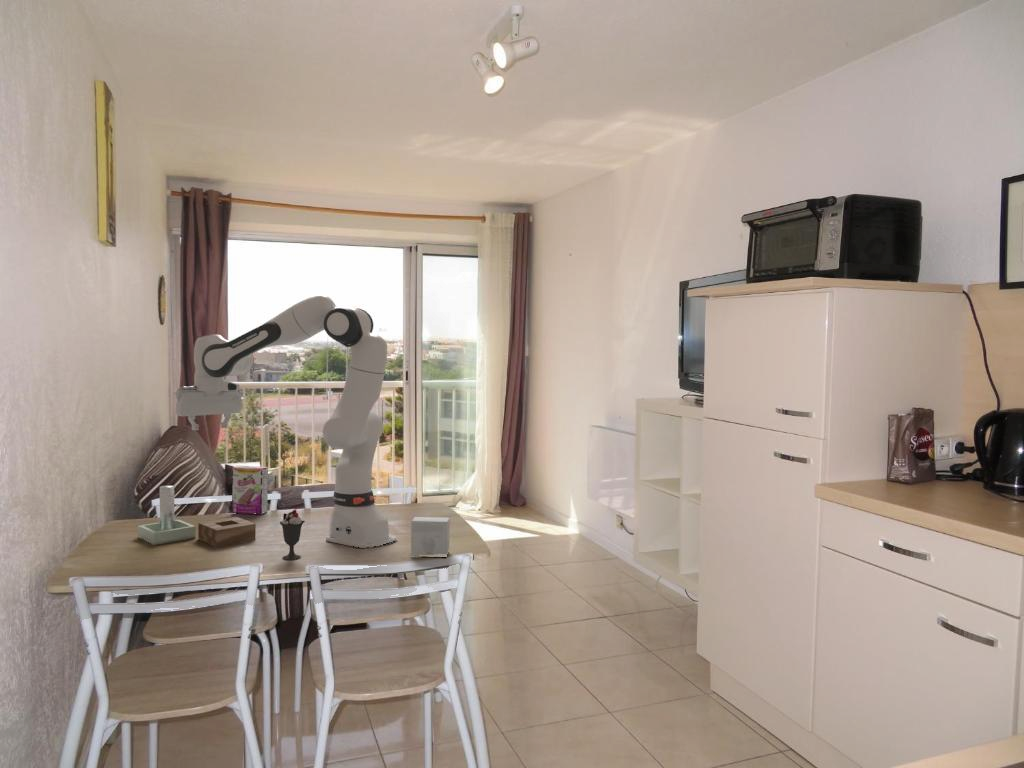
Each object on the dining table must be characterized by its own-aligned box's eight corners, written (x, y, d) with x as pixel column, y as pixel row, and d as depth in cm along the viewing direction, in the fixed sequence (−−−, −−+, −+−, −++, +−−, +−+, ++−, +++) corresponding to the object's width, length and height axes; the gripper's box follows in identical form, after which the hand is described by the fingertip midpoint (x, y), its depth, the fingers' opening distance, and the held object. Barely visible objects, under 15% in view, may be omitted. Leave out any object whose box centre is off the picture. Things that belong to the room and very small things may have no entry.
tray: (195, 538, 214) (195, 526, 214) (154, 545, 206) (154, 533, 205) (178, 530, 222) (178, 519, 222) (138, 537, 214) (138, 525, 213)
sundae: (304, 560, 194) (305, 506, 194) (278, 561, 192) (279, 507, 192) (304, 553, 201) (304, 501, 200) (279, 555, 199) (280, 502, 198)
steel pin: (176, 535, 214) (176, 486, 214) (163, 537, 211) (162, 488, 211) (171, 533, 217) (170, 484, 216) (157, 535, 214) (157, 486, 213)
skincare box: (449, 552, 206) (450, 516, 206) (446, 558, 200) (447, 522, 199) (413, 551, 206) (414, 515, 206) (410, 557, 200) (410, 520, 199)
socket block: (255, 539, 214) (255, 523, 214) (216, 547, 205) (216, 530, 205) (236, 532, 222) (236, 516, 222) (198, 539, 213) (198, 522, 213)
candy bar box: (231, 513, 247) (231, 467, 246) (238, 510, 252) (238, 465, 251) (261, 515, 246) (262, 468, 245) (268, 512, 251) (268, 466, 250)
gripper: (180, 386, 214) (181, 432, 215) (244, 385, 230) (244, 427, 230) (171, 386, 218) (172, 430, 219) (234, 384, 234) (235, 426, 234)
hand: (210, 428), depth 225 cm, fingers open, 8 cm apart
